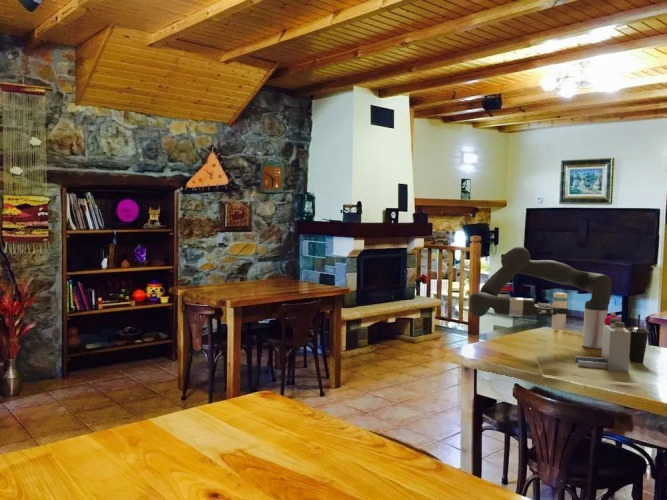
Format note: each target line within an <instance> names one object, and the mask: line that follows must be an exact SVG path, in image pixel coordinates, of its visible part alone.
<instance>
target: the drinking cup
mask: <svg viewBox="0 0 667 500" xmlns="http://www.w3.org/2000/svg"><path fill="white" fill-rule="evenodd" d="M640 324H641V314H637V326H633V327H632V326H631V327H630V328H627V330H628V331H630V332H631V338H630V353H629V362H632V363H639V364H641V365H644V360H645V353H646V348H647V343H648V342H647V341H648V335H649V333H650V330H648V329H646V328H644V327H640Z"/></svg>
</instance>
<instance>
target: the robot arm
mask: <svg viewBox="0 0 667 500" xmlns="http://www.w3.org/2000/svg"><path fill="white" fill-rule="evenodd" d="M500 262H501V267H500V268H499V269H498V270H497V271H495V272H494V273H493V275H491V276H490V277H489V278H488V279H487V280H486V282H485V283H483V285H482V286H481V288H480V290H479V291H477V292H474V293H472V294H471V295H470V297H469V298H470V299H469V311H470V313H471V315H473V317H476V318H478V317H479V318H480V317H483V316H485V315H486V314H487V313H488V311H489V310H490V309H493V312H494V313H495V314H496V315H501V316H502V315H503V316H512V317H520V318H534V316H535V313H538V314H539V315H541V316H543V315H546V316H547V315H548V316H550V315H551V316H552V315H556V314H566V315H568V314H569V309H568V308H567V307H566V308H557V307H553V303H544V302H543V303H542V302H537V303H535V299H534V298H531V297H529V298H528V297H527V298H526V297H502V296H501V297H500V296H499V294H500V293H501V292H502V291H503V289H504V288H505V287H506V286H507V284H508V283H509V282H510V281H511V280H512V279H513V278H514V276H515V275H516V274H521V275H526V276H530V277H531V276H532V277H535V278H538V279H542V280H545V281H549V282H552V283H556V284H560V285H565V286H573V287H575V288H579V289H581V290H583V291H585V292H588V293H591V297H590V300H587V301H585V302H584V315H583V331H582V346H583V347H585V348H591V349H600V350H601V346H602V339H603V325H606V324H605V323H604V320H605V318H606V317H607V316H608V306H609V304H610V303H611V302H610V300H611V292H612V281H611V279H610V276H608V275H606V274H602V273H596V272H588V271H583V270H582V271H581V270H578V269H575V268H573V267H572V266H570V265H569V264H566V263H564V262H560V261H556V260H551V259H539V260H538V259H537V260H536V259H535V260H534V259H533V260H532V259H531V254H530V252H529V250H528V249H527V248H525V247H523V246H516V247H513V248H511V249H510V250H508V251H507V252H505V253H504V254H503V255H502V257H501V259H500ZM552 311H553V312H552Z"/></svg>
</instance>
